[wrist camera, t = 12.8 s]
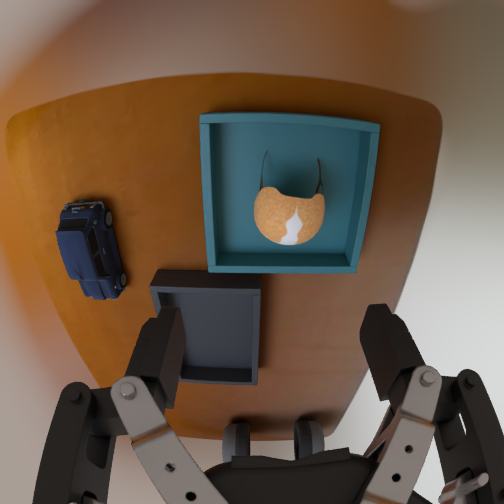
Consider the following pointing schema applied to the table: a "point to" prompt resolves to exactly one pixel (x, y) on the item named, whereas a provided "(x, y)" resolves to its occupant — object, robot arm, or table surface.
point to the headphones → (305, 439)
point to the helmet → (288, 214)
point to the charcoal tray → (214, 323)
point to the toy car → (91, 249)
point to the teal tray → (285, 187)
